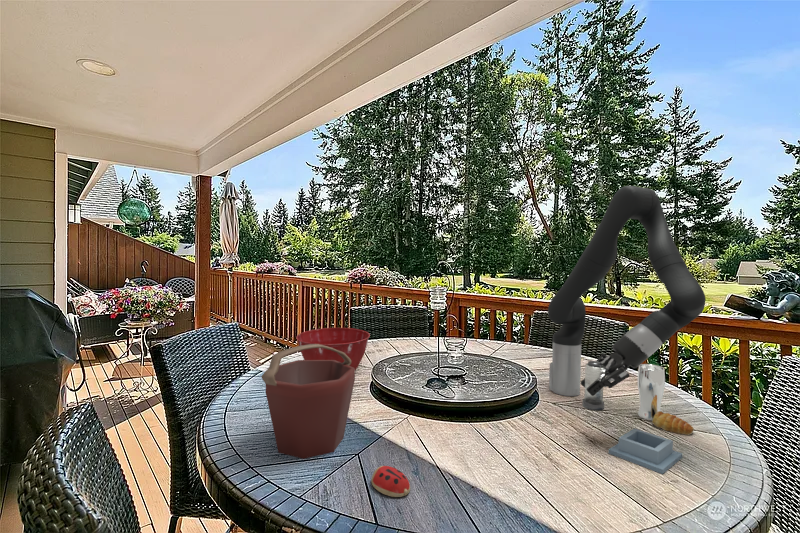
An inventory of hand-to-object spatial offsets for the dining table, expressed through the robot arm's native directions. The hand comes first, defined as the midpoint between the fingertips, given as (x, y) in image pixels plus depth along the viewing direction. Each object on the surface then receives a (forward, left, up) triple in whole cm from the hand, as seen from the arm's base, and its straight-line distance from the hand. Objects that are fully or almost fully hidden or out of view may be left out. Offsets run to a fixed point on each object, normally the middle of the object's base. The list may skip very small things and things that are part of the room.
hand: (586, 389), depth 111 cm
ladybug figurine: (-14, -54, -14) cm, 57 cm away
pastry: (+11, +26, -14) cm, 31 cm away
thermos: (+1, +1, -5) cm, 5 cm away
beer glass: (+4, +29, -13) cm, 32 cm away
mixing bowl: (-91, -24, -14) cm, 95 cm away
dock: (+13, +3, -13) cm, 19 cm away
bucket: (-44, -58, -14) cm, 74 cm away
